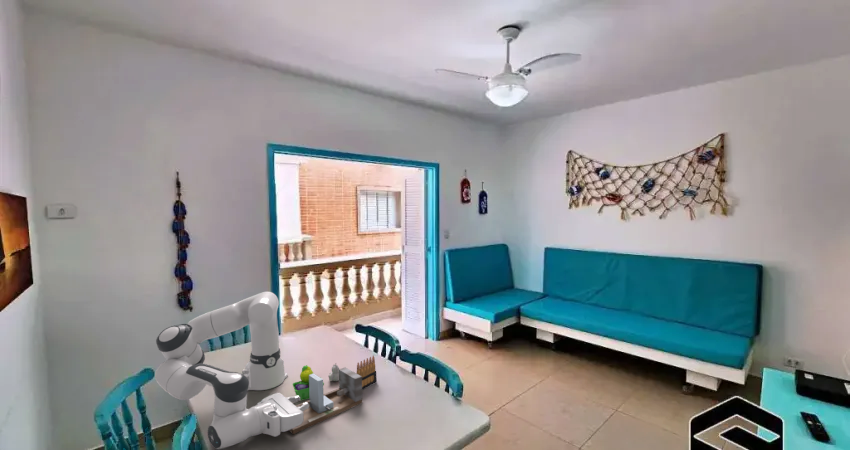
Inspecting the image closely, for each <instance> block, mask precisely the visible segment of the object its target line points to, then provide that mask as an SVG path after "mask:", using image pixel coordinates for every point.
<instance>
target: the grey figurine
mask: <svg viewBox="0 0 850 450" xmlns="http://www.w3.org/2000/svg"><path fill="white" fill-rule="evenodd" d="M339 369H340V367H339V366H338V365H337V363H335V364H333V365H332V366H331V372H330V373H329V375H328V380H329V381H330V382H331V381H333V382H339Z"/></svg>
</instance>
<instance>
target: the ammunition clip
mask: <svg viewBox="0 0 850 450" xmlns="http://www.w3.org/2000/svg"><path fill="white" fill-rule="evenodd" d="M375 360H376V359H375V356H374V355H372V356H370V357H369V358H368V357H367V358H366V359H363V360H361V361H360V363H359V362H357V364H356V372H355V373H356V374H358V375H360V376H362V391H363V390H365V389H367V388H369V387H370V386H373V385H374V384H376V383H377V382H378V381H377V370H376V361H375Z"/></svg>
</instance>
